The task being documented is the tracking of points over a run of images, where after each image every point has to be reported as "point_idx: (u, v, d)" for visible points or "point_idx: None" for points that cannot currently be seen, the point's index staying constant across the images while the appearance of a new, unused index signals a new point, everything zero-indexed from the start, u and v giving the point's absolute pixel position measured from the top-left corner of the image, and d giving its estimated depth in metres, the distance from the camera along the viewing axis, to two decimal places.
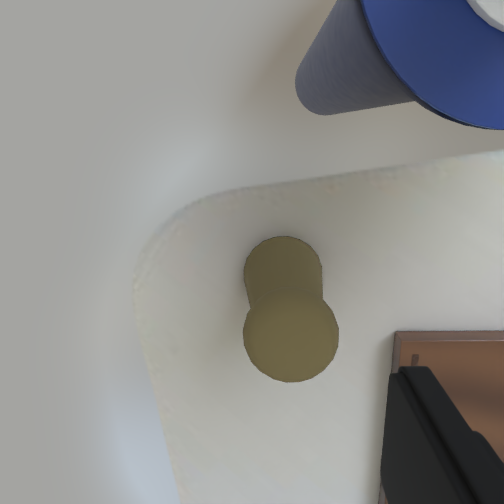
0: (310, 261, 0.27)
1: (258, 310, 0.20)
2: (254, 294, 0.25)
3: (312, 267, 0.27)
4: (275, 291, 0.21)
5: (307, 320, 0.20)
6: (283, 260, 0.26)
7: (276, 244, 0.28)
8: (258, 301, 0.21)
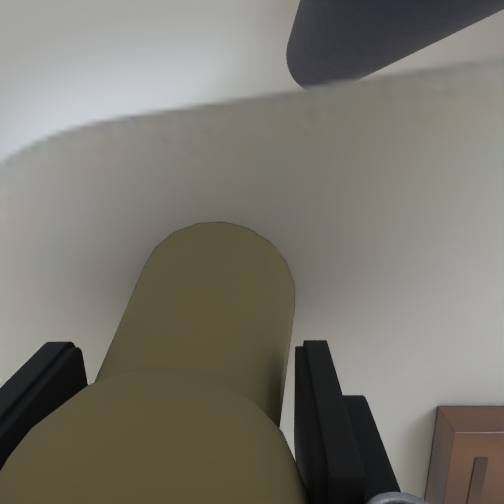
0: (261, 276, 0.12)
1: (0, 486, 0.05)
2: (101, 366, 0.09)
3: (264, 290, 0.11)
4: (91, 396, 0.06)
5: None
6: (192, 275, 0.11)
7: (193, 238, 0.13)
8: (31, 432, 0.06)
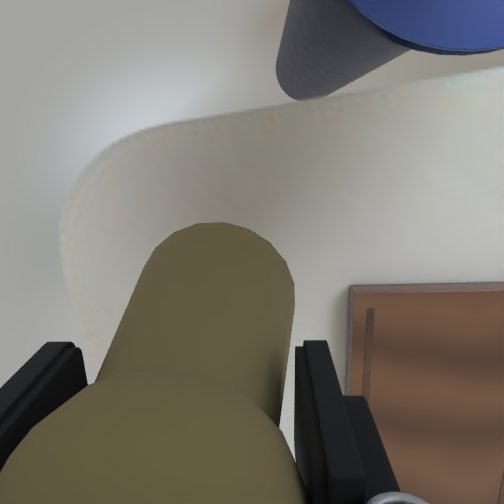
0: (261, 276, 0.12)
1: (1, 485, 0.05)
2: (101, 366, 0.09)
3: (264, 291, 0.11)
4: (91, 396, 0.06)
5: None
6: (192, 275, 0.11)
7: (193, 238, 0.13)
8: (31, 432, 0.06)
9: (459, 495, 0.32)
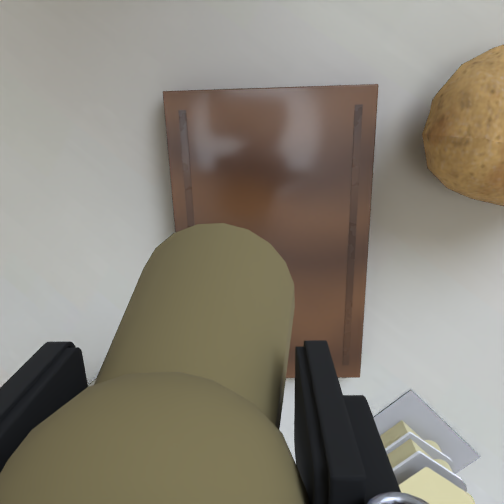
0: (261, 277, 0.12)
1: None
2: (101, 368, 0.09)
3: (264, 291, 0.11)
4: (91, 398, 0.06)
5: None
6: (192, 276, 0.11)
7: (193, 239, 0.13)
8: (31, 435, 0.06)
9: (302, 335, 0.31)
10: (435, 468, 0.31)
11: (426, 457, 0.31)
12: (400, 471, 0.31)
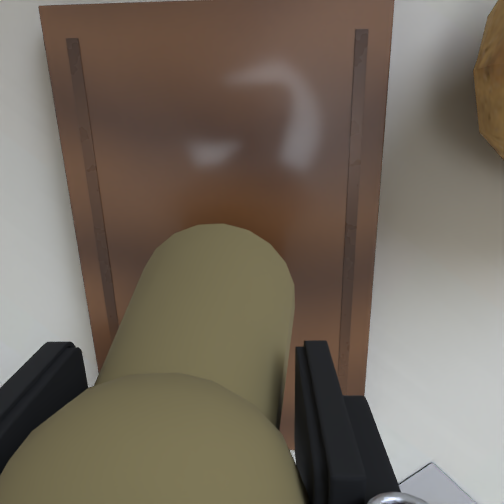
0: (261, 277, 0.12)
1: (0, 490, 0.05)
2: (101, 369, 0.09)
3: (264, 292, 0.11)
4: (91, 399, 0.06)
5: None
6: (192, 276, 0.11)
7: (193, 239, 0.13)
8: (31, 436, 0.06)
9: None
10: None
11: None
12: None
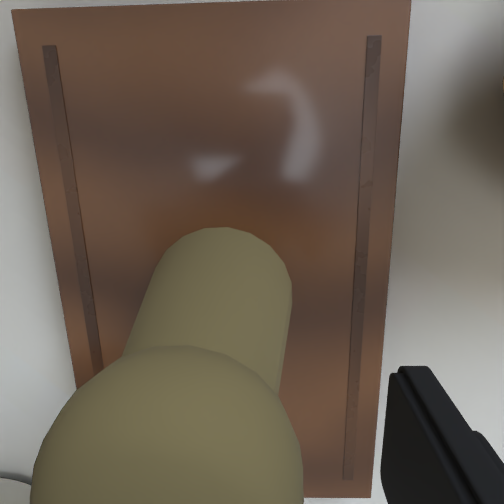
0: (262, 274, 0.14)
1: (58, 429, 0.07)
2: (124, 350, 0.11)
3: (264, 286, 0.13)
4: (125, 363, 0.08)
5: (191, 475, 0.06)
6: (201, 272, 0.12)
7: (200, 241, 0.15)
8: (78, 392, 0.08)
9: None
10: None
11: None
12: None
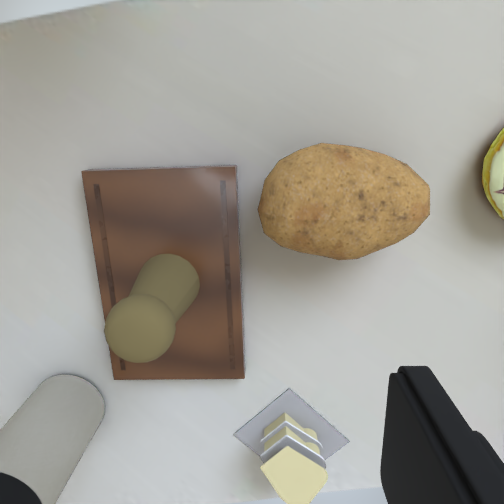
0: (179, 273, 0.35)
1: (111, 311, 0.29)
2: None
3: (178, 278, 0.35)
4: (127, 297, 0.29)
5: (141, 318, 0.28)
6: (154, 273, 0.34)
7: (157, 260, 0.37)
8: None
9: (197, 347, 0.41)
10: (299, 448, 0.41)
11: (292, 439, 0.41)
12: (273, 450, 0.41)
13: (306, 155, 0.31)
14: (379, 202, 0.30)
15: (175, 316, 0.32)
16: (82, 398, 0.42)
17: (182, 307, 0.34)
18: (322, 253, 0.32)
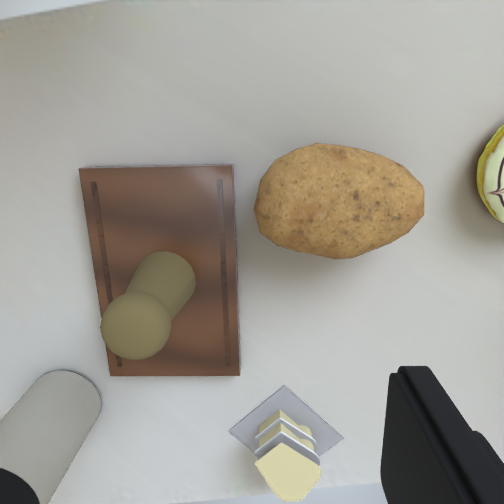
0: (175, 271, 0.36)
1: (107, 308, 0.29)
2: None
3: (175, 276, 0.35)
4: (123, 294, 0.30)
5: (137, 315, 0.28)
6: (150, 270, 0.34)
7: (154, 258, 0.37)
8: (111, 302, 0.30)
9: (193, 344, 0.41)
10: (294, 444, 0.41)
11: (286, 436, 0.41)
12: (268, 447, 0.41)
13: (302, 154, 0.31)
14: (373, 202, 0.30)
15: (171, 314, 0.33)
16: (78, 394, 0.42)
17: (178, 305, 0.34)
18: (317, 252, 0.33)
